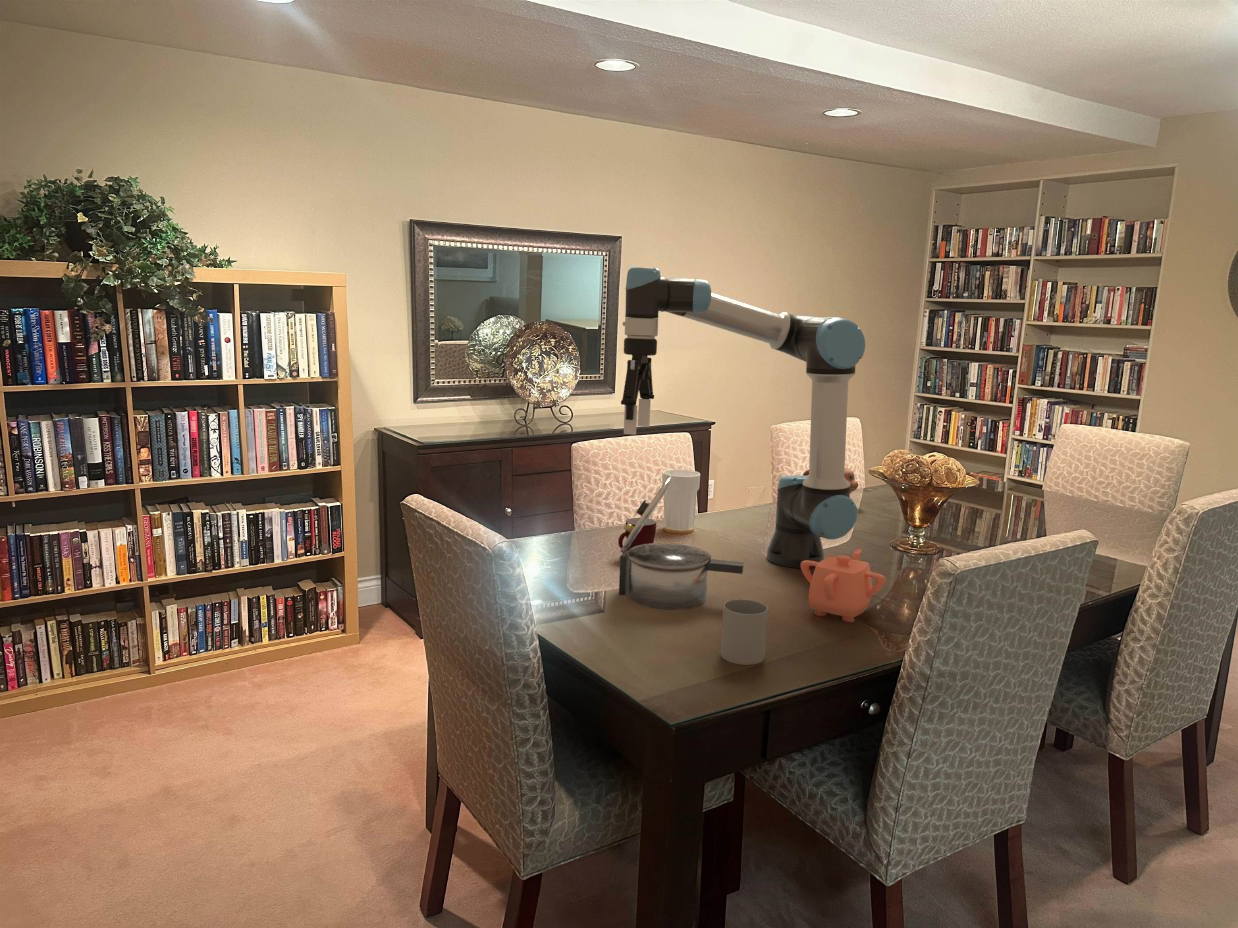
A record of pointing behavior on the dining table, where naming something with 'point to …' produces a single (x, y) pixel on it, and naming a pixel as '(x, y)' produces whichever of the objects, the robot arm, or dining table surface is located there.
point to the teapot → (841, 585)
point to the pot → (669, 574)
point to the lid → (645, 514)
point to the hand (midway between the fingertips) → (636, 430)
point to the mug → (640, 533)
